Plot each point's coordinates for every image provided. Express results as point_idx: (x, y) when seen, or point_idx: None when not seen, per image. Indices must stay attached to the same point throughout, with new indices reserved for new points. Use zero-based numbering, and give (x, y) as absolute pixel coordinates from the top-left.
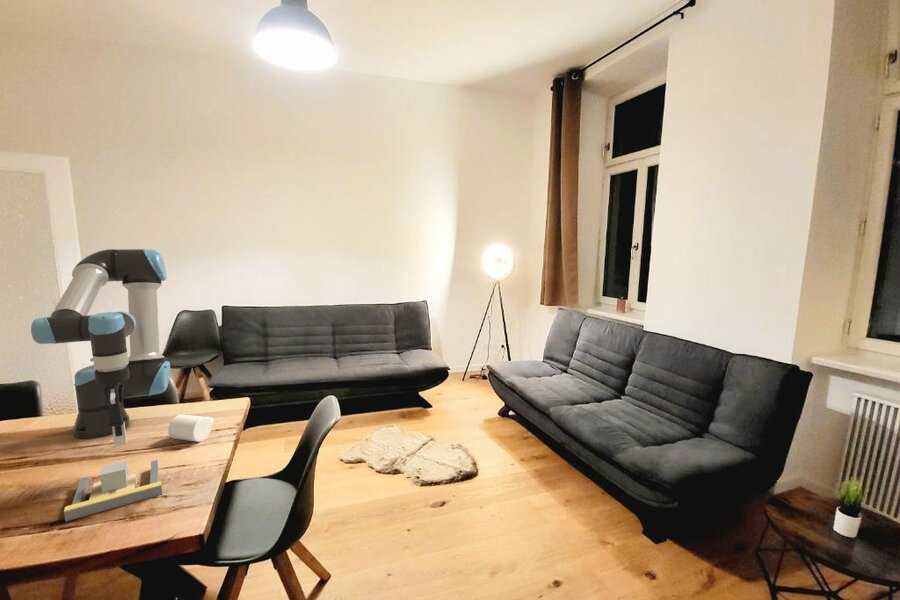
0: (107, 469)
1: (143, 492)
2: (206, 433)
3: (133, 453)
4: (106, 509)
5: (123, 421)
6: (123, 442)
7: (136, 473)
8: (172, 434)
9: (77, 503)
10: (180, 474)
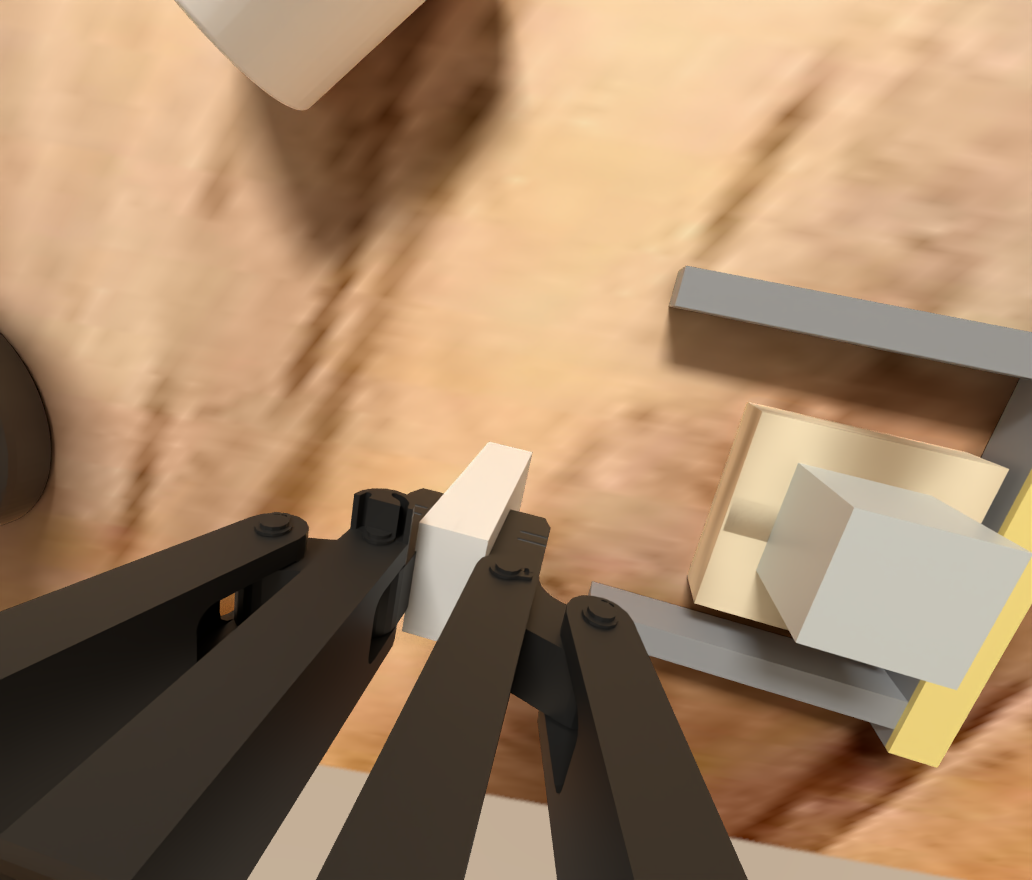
0: (897, 637)
1: None
2: None
3: (360, 349)
4: None
5: (511, 573)
6: (526, 476)
7: (761, 410)
8: (322, 84)
9: (911, 714)
10: (921, 164)
